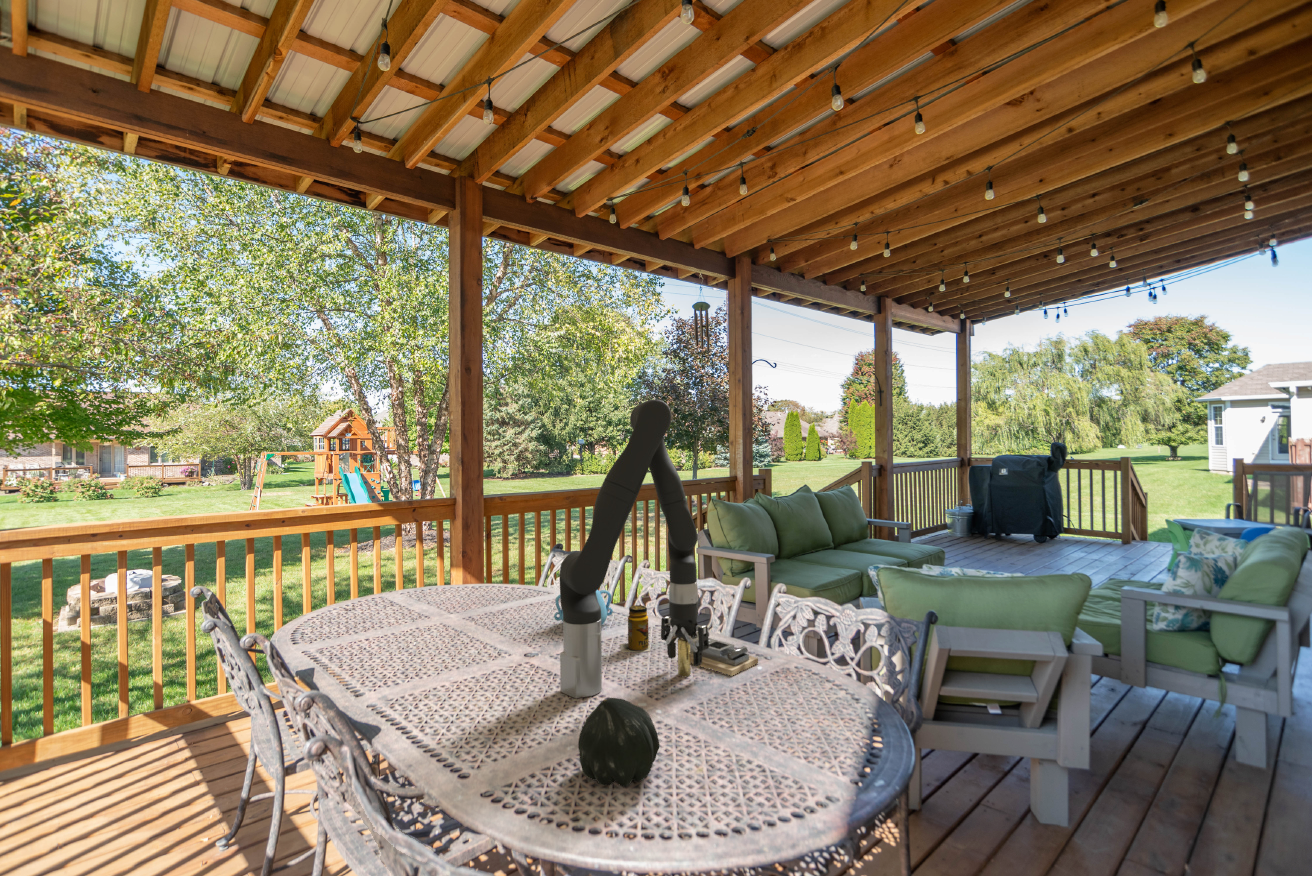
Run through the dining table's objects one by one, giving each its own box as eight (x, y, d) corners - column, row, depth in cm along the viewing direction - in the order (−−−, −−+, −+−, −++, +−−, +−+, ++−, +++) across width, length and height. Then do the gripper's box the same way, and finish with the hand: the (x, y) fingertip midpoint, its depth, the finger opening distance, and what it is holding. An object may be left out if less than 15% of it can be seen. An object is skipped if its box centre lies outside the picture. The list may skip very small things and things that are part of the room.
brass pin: (685, 677, 155) (684, 642, 155) (675, 674, 157) (675, 639, 157) (693, 674, 158) (692, 639, 158) (683, 671, 160) (683, 636, 160)
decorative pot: (550, 620, 207) (549, 580, 207) (606, 615, 213) (605, 576, 213) (558, 638, 188) (558, 594, 188) (620, 631, 194) (619, 589, 194)
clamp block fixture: (731, 676, 156) (731, 651, 156) (678, 659, 168) (678, 636, 168) (758, 663, 164) (757, 640, 164) (705, 648, 177) (705, 627, 177)
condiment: (651, 651, 175) (650, 609, 175) (621, 653, 174) (621, 611, 174) (648, 643, 182) (647, 603, 182) (620, 644, 181) (619, 604, 181)
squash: (670, 723, 118) (618, 668, 117) (676, 767, 103) (616, 704, 102) (616, 772, 118) (564, 717, 117) (614, 824, 103) (554, 761, 102)
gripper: (653, 597, 160) (654, 659, 160) (695, 606, 150) (696, 672, 150) (672, 591, 165) (673, 651, 165) (714, 600, 156) (715, 664, 155)
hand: (684, 661), depth 158 cm, fingers open, 8 cm apart
